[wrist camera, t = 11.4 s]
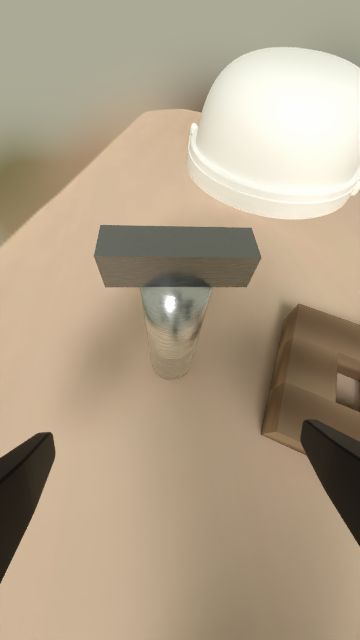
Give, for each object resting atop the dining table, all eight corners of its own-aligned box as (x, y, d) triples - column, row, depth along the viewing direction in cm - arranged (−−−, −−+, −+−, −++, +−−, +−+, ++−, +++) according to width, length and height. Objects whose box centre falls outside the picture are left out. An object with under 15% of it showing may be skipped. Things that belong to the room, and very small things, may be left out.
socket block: (421, 507, 16) (470, 518, 13) (260, 434, 18) (276, 431, 15) (404, 363, 22) (436, 352, 19) (284, 319, 24) (298, 303, 21)
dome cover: (151, 183, 37) (144, 52, 25) (214, 123, 51) (229, 22, 39) (350, 247, 31) (468, 118, 19) (358, 159, 45) (428, 54, 33)
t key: (206, 378, 20) (266, 275, 8) (135, 380, 20) (90, 274, 8) (202, 342, 22) (247, 215, 10) (137, 343, 21) (103, 211, 10)
